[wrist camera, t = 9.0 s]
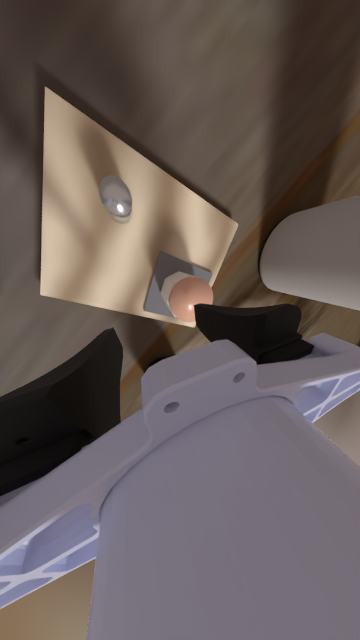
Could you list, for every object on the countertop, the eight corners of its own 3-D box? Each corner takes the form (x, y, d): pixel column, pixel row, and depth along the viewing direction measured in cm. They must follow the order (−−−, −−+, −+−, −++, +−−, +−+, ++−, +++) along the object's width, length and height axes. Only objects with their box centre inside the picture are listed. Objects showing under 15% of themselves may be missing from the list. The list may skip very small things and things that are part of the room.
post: (104, 216, 13) (96, 205, 10) (109, 189, 13) (101, 167, 10) (129, 228, 14) (128, 220, 11) (134, 203, 14) (135, 187, 11)
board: (48, 291, 16) (40, 294, 14) (55, 106, 11) (44, 85, 10) (191, 323, 24) (194, 327, 23) (231, 226, 19) (238, 224, 18)
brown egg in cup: (157, 303, 18) (164, 317, 14) (168, 267, 17) (180, 270, 13) (187, 311, 20) (202, 325, 16) (200, 279, 19) (220, 286, 15)
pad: (143, 309, 19) (143, 310, 18) (160, 250, 16) (160, 250, 16) (191, 321, 22) (192, 322, 22) (211, 273, 19) (212, 273, 19)
